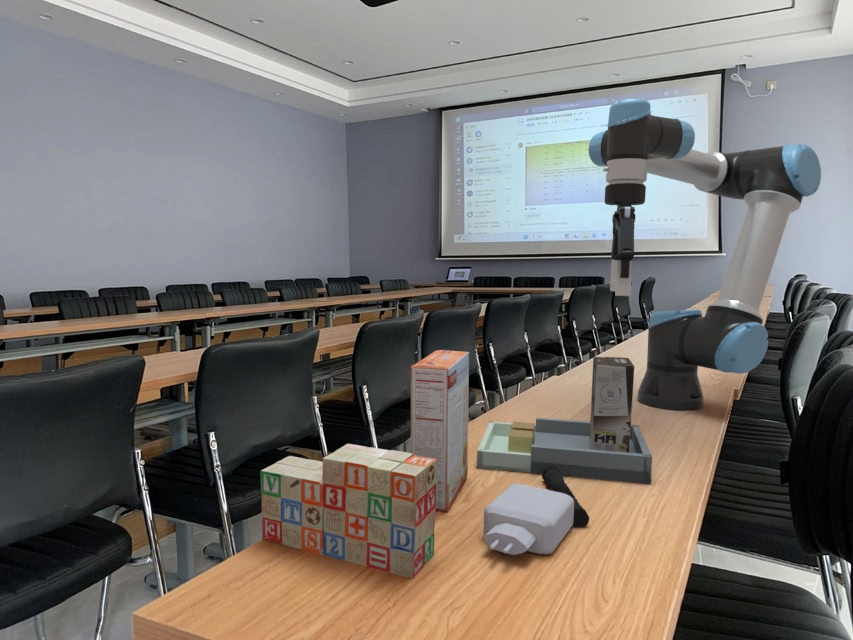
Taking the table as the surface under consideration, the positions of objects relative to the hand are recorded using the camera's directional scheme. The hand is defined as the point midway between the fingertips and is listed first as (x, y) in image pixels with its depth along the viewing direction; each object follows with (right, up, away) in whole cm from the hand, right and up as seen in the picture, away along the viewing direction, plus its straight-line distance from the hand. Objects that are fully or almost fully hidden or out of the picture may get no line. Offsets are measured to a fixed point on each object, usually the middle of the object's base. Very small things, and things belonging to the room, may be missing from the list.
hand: (619, 293), depth 121 cm
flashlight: (-18, -33, -30) cm, 48 cm away
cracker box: (-36, -32, -27) cm, 55 cm away
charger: (-26, -34, -43) cm, 61 cm away
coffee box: (-6, -28, -13) cm, 32 cm away
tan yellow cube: (-22, -29, -12) cm, 38 cm away
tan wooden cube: (-20, -29, -7) cm, 36 cm away
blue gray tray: (-10, -30, -12) cm, 34 cm away
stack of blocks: (-48, -34, -45) cm, 74 cm away
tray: (-23, -30, -9) cm, 39 cm away
